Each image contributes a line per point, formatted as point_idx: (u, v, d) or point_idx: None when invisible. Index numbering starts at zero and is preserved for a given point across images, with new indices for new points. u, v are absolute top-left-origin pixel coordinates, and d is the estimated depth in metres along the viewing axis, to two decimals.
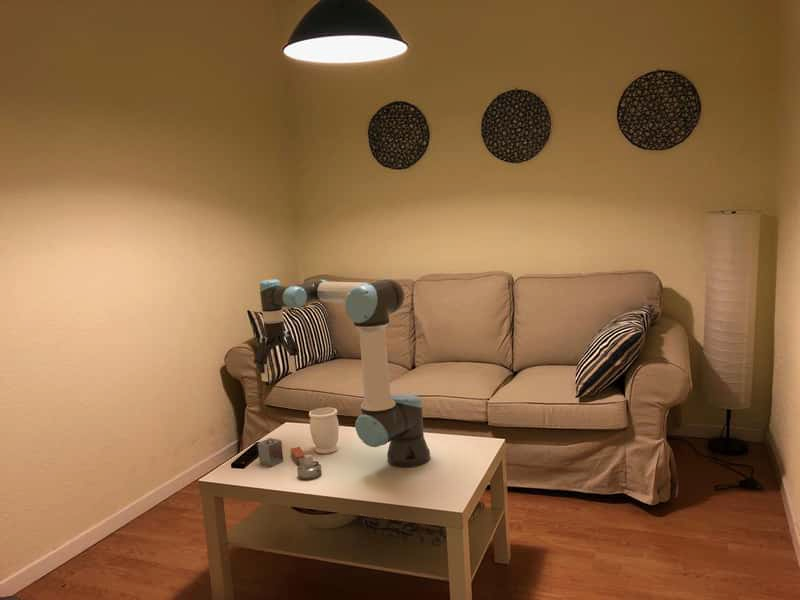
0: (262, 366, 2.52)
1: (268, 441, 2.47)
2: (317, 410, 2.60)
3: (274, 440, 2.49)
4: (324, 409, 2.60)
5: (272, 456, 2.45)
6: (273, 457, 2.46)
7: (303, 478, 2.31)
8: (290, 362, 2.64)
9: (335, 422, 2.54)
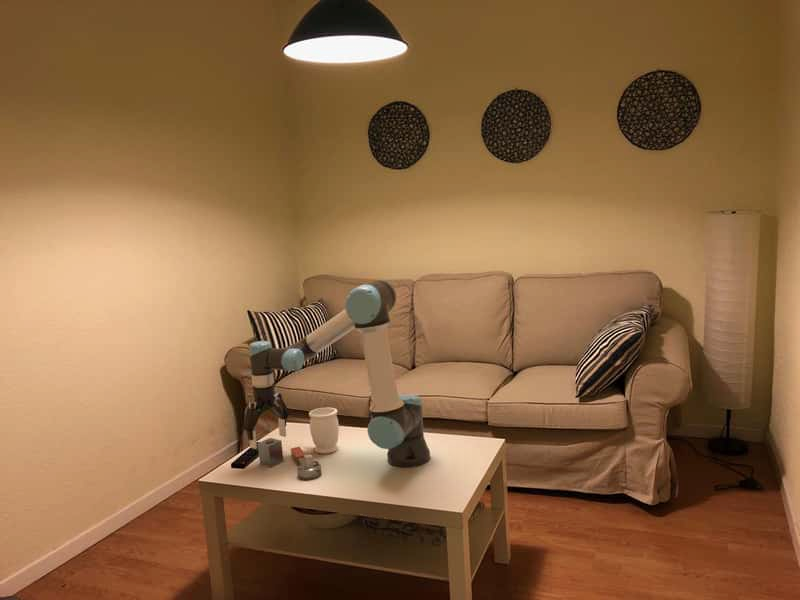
0: (250, 433, 2.40)
1: (268, 441, 2.47)
2: (317, 410, 2.60)
3: (274, 440, 2.49)
4: (324, 409, 2.60)
5: (272, 456, 2.45)
6: (273, 457, 2.46)
7: (303, 478, 2.31)
8: (280, 426, 2.52)
9: (335, 422, 2.54)
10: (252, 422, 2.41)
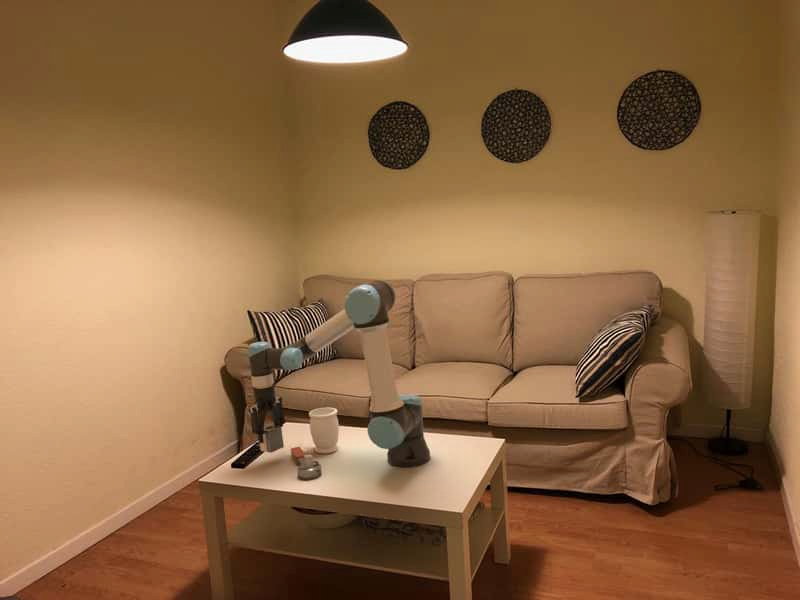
0: (261, 436, 2.43)
1: (267, 427, 2.46)
2: (317, 410, 2.60)
3: (274, 425, 2.48)
4: (324, 409, 2.60)
5: (272, 441, 2.44)
6: (273, 442, 2.44)
7: (303, 478, 2.31)
8: None
9: (335, 422, 2.54)
10: (260, 425, 2.43)
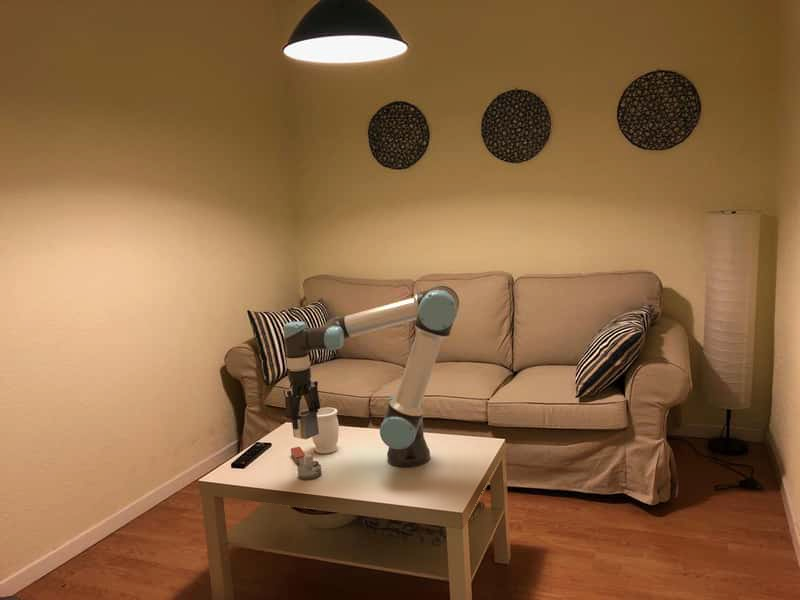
0: (295, 422, 2.28)
1: (302, 412, 2.31)
2: None
3: (309, 411, 2.33)
4: (324, 409, 2.60)
5: (307, 427, 2.29)
6: (308, 428, 2.29)
7: (303, 478, 2.31)
8: None
9: (335, 422, 2.54)
10: (294, 410, 2.28)
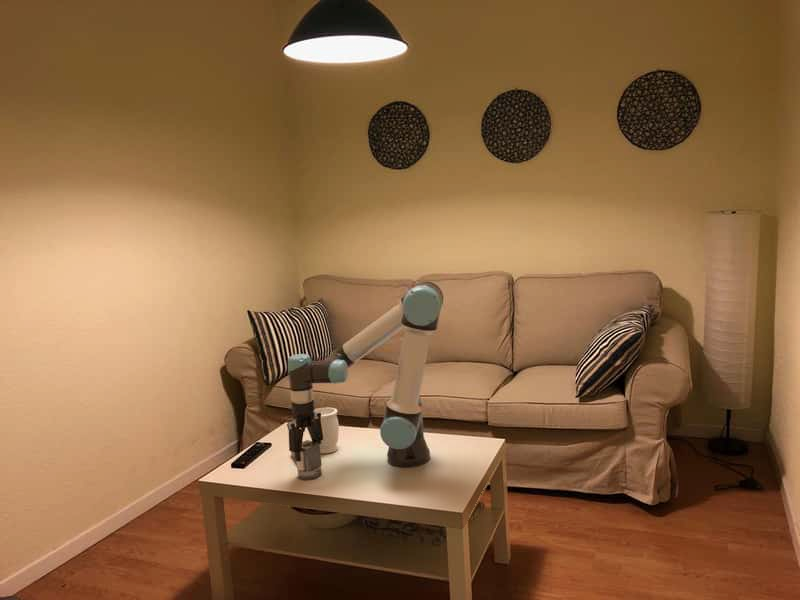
0: (298, 454, 2.30)
1: (305, 444, 2.32)
2: (317, 410, 2.60)
3: (311, 442, 2.34)
4: (324, 409, 2.60)
5: (310, 459, 2.31)
6: (311, 461, 2.31)
7: (303, 478, 2.31)
8: None
9: (335, 422, 2.54)
10: (297, 443, 2.29)
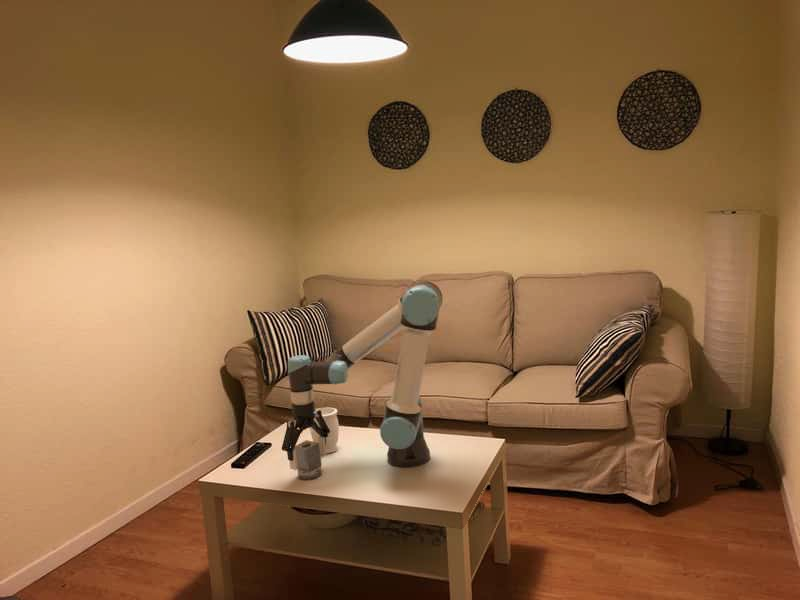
0: (291, 453, 2.27)
1: (304, 444, 2.32)
2: None
3: (311, 443, 2.34)
4: (324, 409, 2.60)
5: (310, 460, 2.30)
6: (311, 461, 2.31)
7: (303, 478, 2.31)
8: (320, 444, 2.39)
9: (335, 422, 2.54)
10: (292, 442, 2.27)
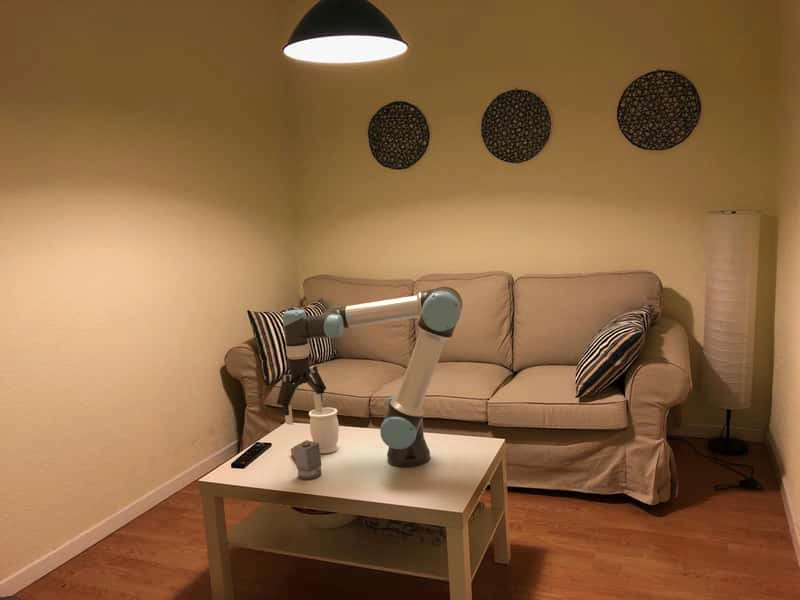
0: (286, 407, 2.24)
1: (304, 444, 2.32)
2: None
3: (311, 443, 2.34)
4: (324, 409, 2.60)
5: (310, 460, 2.30)
6: (311, 461, 2.31)
7: (303, 478, 2.31)
8: (316, 401, 2.36)
9: (335, 422, 2.54)
10: (287, 396, 2.25)
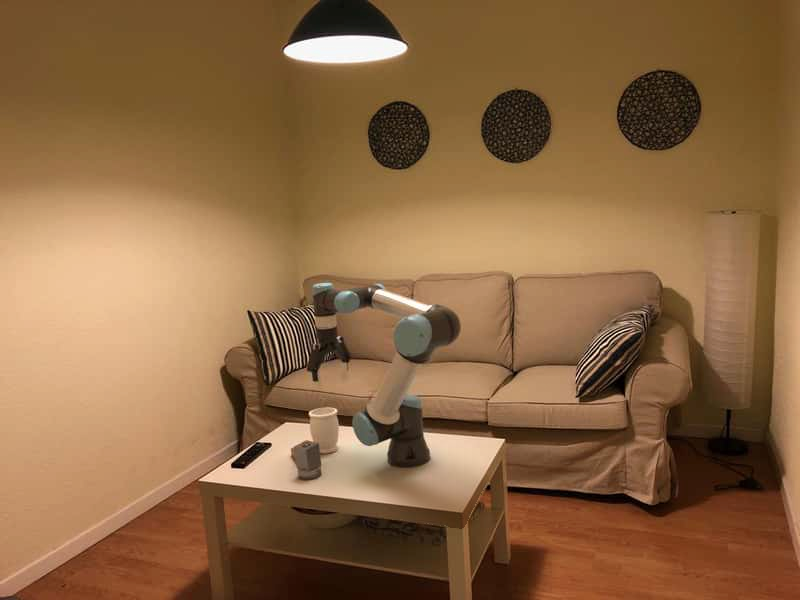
0: (315, 374, 2.40)
1: (304, 444, 2.32)
2: (317, 410, 2.60)
3: (311, 443, 2.34)
4: (324, 409, 2.60)
5: (310, 460, 2.30)
6: (311, 461, 2.31)
7: (303, 478, 2.31)
8: (342, 369, 2.52)
9: (335, 422, 2.54)
10: (317, 363, 2.40)
